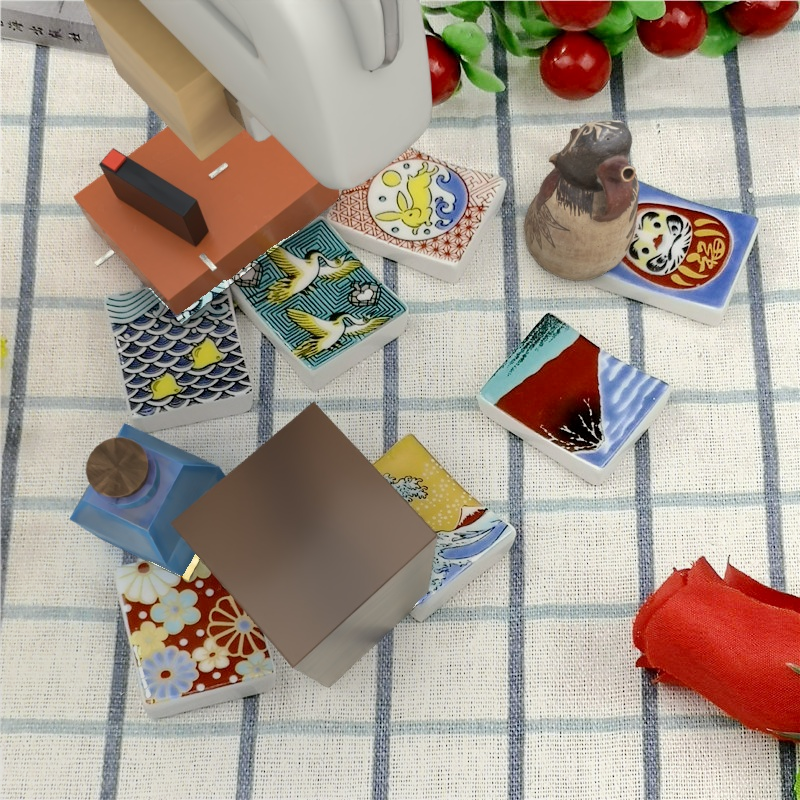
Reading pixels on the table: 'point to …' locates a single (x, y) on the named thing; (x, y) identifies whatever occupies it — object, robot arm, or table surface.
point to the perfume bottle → (143, 495)
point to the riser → (313, 546)
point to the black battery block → (154, 197)
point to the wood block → (165, 75)
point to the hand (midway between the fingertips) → (206, 60)
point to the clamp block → (207, 213)
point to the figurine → (585, 204)
